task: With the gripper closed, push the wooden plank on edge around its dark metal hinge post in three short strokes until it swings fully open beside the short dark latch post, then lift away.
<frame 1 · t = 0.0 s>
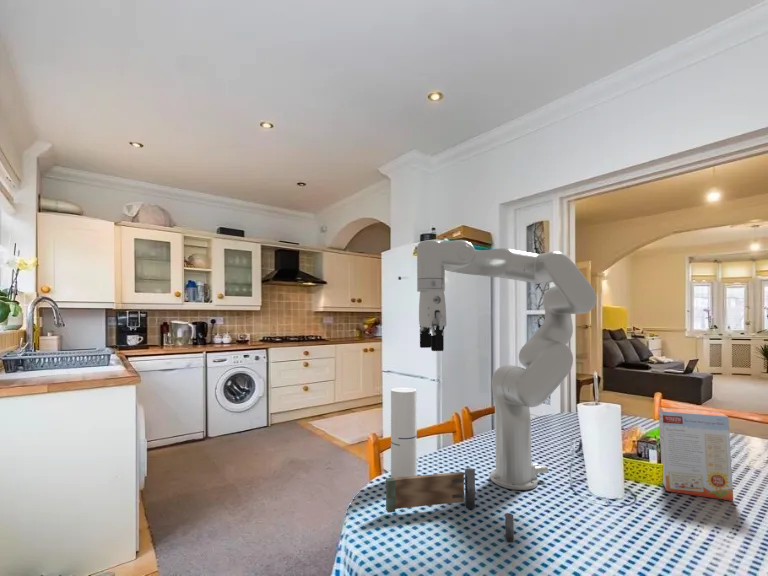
hand: (431, 349, 107), 37 cm above the table, tool pointing down, fingers open, 9 cm apart
cracker box: (695, 492, 103), on the table
cylindrical container: (403, 482, 110), on the table
wooden plank on edge: (425, 491, 93), point 5 cm above the table, hinge at 0.0°
hinge post: (470, 506, 96), on the table
latch post: (509, 540, 81), on the table
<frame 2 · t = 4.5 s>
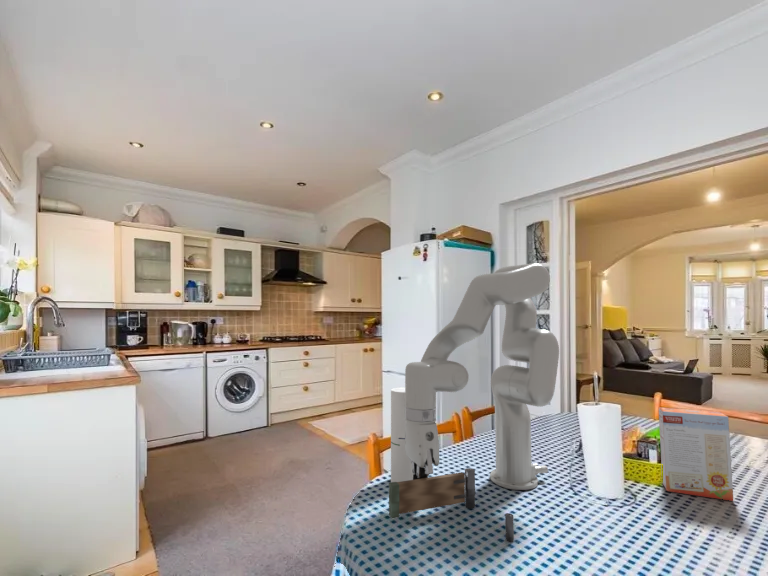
hand: (420, 491, 95), 4 cm above the table, tool pointing down, fingers closed
wooden plank on edge: (428, 494, 92), point 5 cm above the table, hinge at 7.7°, touching gripper
everything else where it was.
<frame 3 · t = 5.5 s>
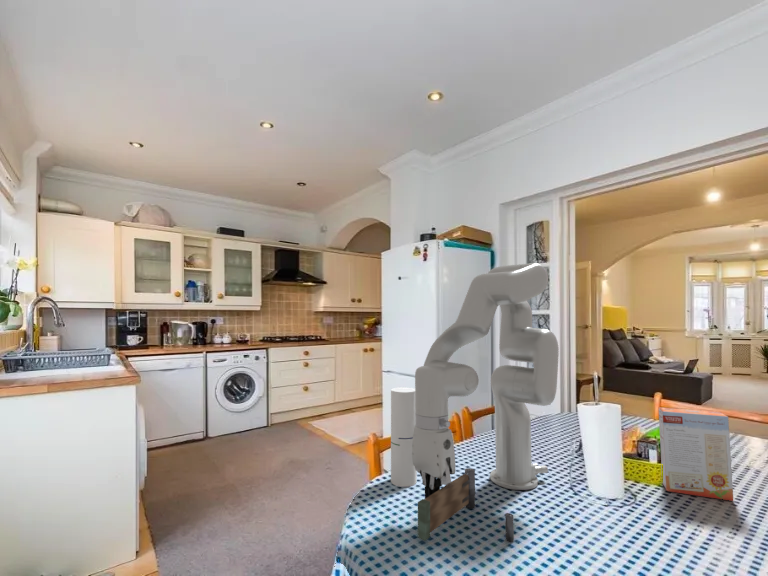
hand: (432, 503, 89), 4 cm above the table, tool pointing down, fingers closed
wooden plank on edge: (445, 504, 87), point 5 cm above the table, hinge at 37.9°, touching gripper
everything else where it was.
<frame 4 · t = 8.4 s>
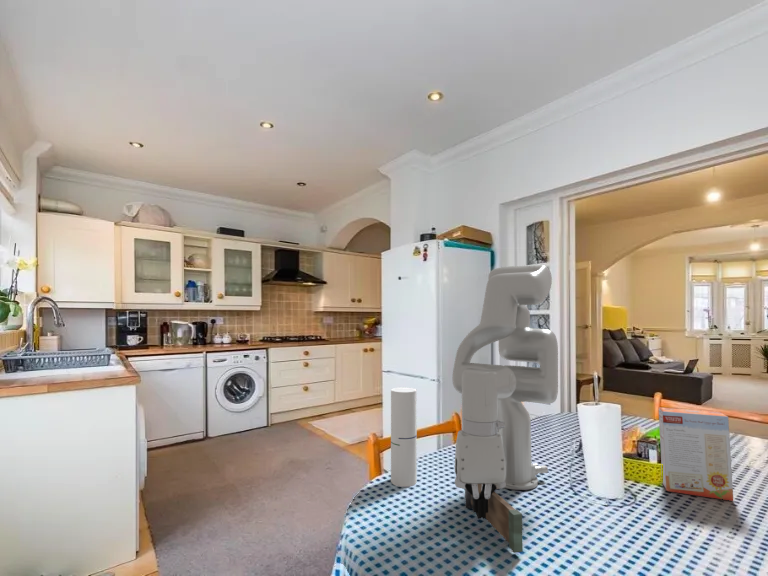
hand: (480, 515, 84), 4 cm above the table, tool pointing down, fingers closed
wooden plank on edge: (493, 509, 85), point 5 cm above the table, hinge at 91.6°, touching gripper
everything else where it was.
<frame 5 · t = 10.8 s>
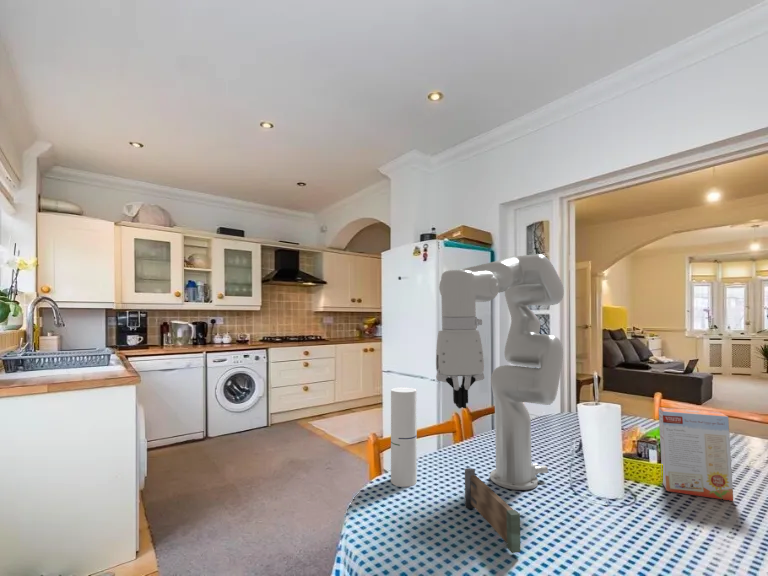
hand: (460, 406, 89), 26 cm above the table, tool pointing down, fingers closed
wooden plank on edge: (492, 509, 85), point 5 cm above the table, hinge at 90.3°
everything else where it was.
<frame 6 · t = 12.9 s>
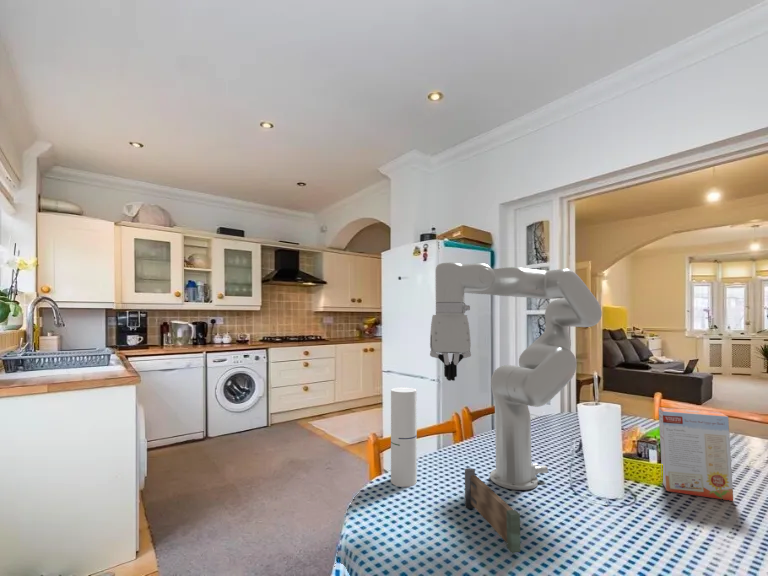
hand: (450, 379, 104), 29 cm above the table, tool pointing down, fingers closed
nothing on the table moved.
at the end: wooden plank on edge at +90° (first picture: +0°); cylindrical container moved 0.2 cm from its start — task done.
